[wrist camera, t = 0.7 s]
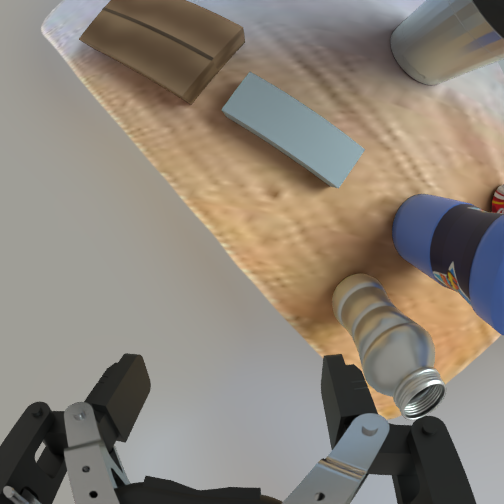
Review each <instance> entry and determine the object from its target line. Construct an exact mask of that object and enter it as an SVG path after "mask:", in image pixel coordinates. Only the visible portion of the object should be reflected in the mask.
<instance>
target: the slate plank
mask: <svg viewBox="0 0 504 504" xmlns="http://www.w3.org/2000/svg"><path fill="white" fill-rule="evenodd" d="M222 111H223V113H224V114H225V116H226V117H228V118H229V119H231V120H233V121H234V122H236V123H237V124H239V125H241V126H242V127H244V128H246V129H247V130H249V131H250V132H252V133H254V134H255V135H257V136H258V137H260V138H261V139H263V140H264V141H266V142H268V143H269V144H271V145H272V146H274V147H275V148H277V149H278V150H280V151H281V152H283V153H284V154H286V155H287V156H288V157H290V158H291V159H293V160H294V161H296V162H297V163H299V164H300V165H301V166H303V167H304V168H306V169H307V170H309V171H310V172H311V173H313V174H314V175H315V176H317V177H318V178H320V179H321V180H322V181H324V182H325V183H326V184H328V185H329V186H331V187H335V188H339V187H340V186H341V184H342V183H343V181H344V180H345V178H346V177H347V175H348V174H349V173H350V171H351V170H352V168H353V167H354V165H355V164H356V162H357V161H358V159H359V158H360V156H361V155H362V153H363V152H364V150H365V149H363V148H362V147H361V146H360V145H358V144H357V143H356V142H355V141H353V140H352V139H351V138H350V137H348V136H347V135H346V134H344V133H343V132H342V131H340V130H339V129H338V128H336V127H335V126H334V125H332V124H331V123H330V122H328V121H327V120H325V119H324V118H323V117H321V116H320V115H318V114H317V113H315V112H314V111H313V110H311V109H310V108H308V107H307V106H305V105H304V104H302V103H301V102H299V101H298V100H296V99H295V98H293V97H291V96H290V95H288V94H287V93H285V92H284V91H282V90H280V89H279V88H277V87H275V86H274V85H272V84H270V83H269V82H267V81H265V80H264V79H262V78H260V77H259V76H257V75H255V74H253V73H251V72H249V73H248V75H247V76H246V77H245V78H244V80H243V81H242V82H241V84H240V85H239V86H238V88H237V89H236V90H235V92H234V93H233V94H232V96H231V97H230V99H229V100H228V101H227V103H226V104H225V106H224V107H223V108H222Z"/></svg>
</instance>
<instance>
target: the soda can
mask: <svg viewBox="0 0 504 504" xmlns="http://www.w3.org/2000/svg"><path fill="white" fill-rule="evenodd" d="M492 212H493V213H504V184H503V185H501V186H499V187H498V188H497V190H496V192H495V194H494V196H493V200H492Z"/></svg>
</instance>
